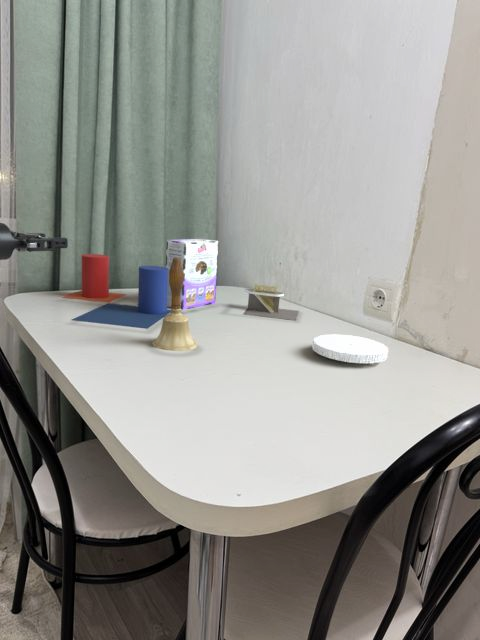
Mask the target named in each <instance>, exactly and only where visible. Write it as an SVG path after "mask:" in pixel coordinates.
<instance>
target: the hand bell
mask: <svg viewBox="0 0 480 640" xmlns="http://www.w3.org/2000/svg"><path fill="white" fill-rule="evenodd" d="M183 282H184V271H183V267H182V264H181V259H180V258H173V261H172V265H171V267H170V271H169V284H170V288H171V292H172V300H171V304H172V305H171V308H170V310H171V313H169V314H168V315H166V316H165V317H164V318H162V324H161V325H162V326H161V329H160V331H159V334H158V335H157V337H156V338H155V339H153V341H152V343H151V344H152V346H153V347H155V348H157V349H160V350H163V351H164V350H165V351H171V352H174V351H175V352H185V351H191V350H193V351H195V350H197V349H198V347H199V345H198V343H197V341H196V340H195V339H194V338H193V336H192V335H191V331H190V326H189V325H190V324H189V318H188V317H187V316H186V315H184V314H183V313H182V310H181V309H180V308H181V306H180V304H181V303H180V294H181V290H182V287H183Z"/></svg>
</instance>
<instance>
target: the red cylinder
mask: <svg viewBox="0 0 480 640" xmlns="http://www.w3.org/2000/svg"><path fill="white" fill-rule="evenodd" d="M80 259H81V260H80V261H81V290H82V296H83V297H87V298H106V297H109V293H110V266H109V265H110V260H109V259H110V256H109V255H105V254H97V253H96V254H95V253H83V254H81V258H80Z"/></svg>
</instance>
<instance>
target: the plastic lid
mask: <svg viewBox="0 0 480 640" xmlns="http://www.w3.org/2000/svg"><path fill="white" fill-rule="evenodd" d="M311 350H312V351H313V352H315V353H316V354H318V355H320V356H323V357H325V358H328V359H331V360H335V361H339V362H340V361H341V362H345V363H352V364H377V363H382V362H384V361H386V360H387V359H388V356H389V355H388V353H389V348H388V346H387V345H385V344H384V343H382V342H379V341H377V340H375V339H371V338H366V337H363V336H358V335H351V334H339V333H334V334H333V333H331V334H330V333H329V334H327V333H326V334H321V335H316V336H315V337H314V338H313V340H312V349H311Z"/></svg>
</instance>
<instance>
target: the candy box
mask: <svg viewBox="0 0 480 640" xmlns="http://www.w3.org/2000/svg"><path fill="white" fill-rule="evenodd" d="M165 248H166V251H165V267H166V268H168V285H167V308H170V309H171V305H172V304H171V300H172V292H171V288H170V284H169V271H170V267H171V265H172V261H173V258H180V259H181V264H182V267H183V271H184V282H183V287H182V290H181V294H180V303H181V304H180V306H181V308H180V309H181V311H186V310H189V309H190V310H191V309H194V308H195V309H196V308H199V307H200V308H201V307H204V306H210V305H214V304H216V294H217V275H218V259H219V255H218V254H219V240H216V239H215V240H213V239H207V238H183V239H182V238H181V239H167V240H166V247H165Z"/></svg>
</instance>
